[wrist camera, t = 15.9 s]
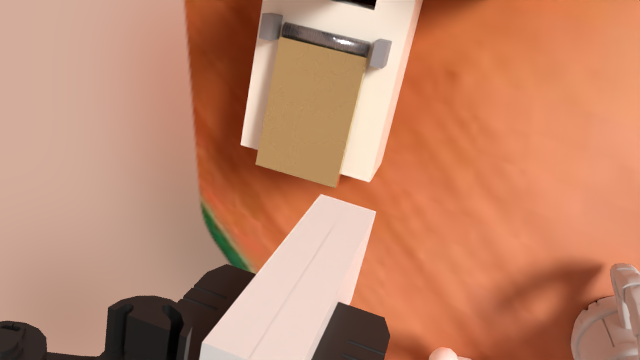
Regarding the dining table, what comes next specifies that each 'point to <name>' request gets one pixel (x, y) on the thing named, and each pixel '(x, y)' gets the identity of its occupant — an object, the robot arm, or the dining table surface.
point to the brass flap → (312, 103)
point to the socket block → (380, 77)
